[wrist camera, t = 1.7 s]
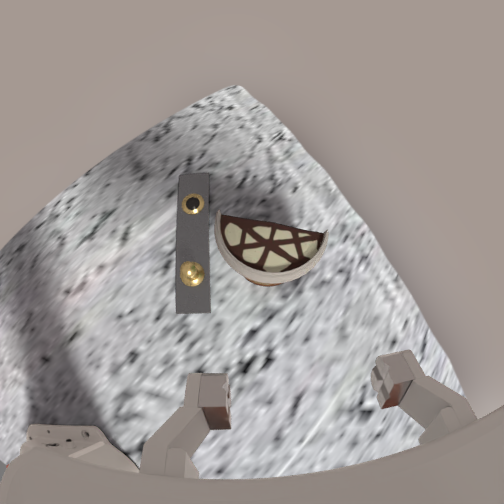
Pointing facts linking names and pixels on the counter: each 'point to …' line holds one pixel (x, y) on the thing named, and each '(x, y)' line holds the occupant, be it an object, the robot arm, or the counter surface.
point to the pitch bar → (193, 245)
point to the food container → (267, 249)
